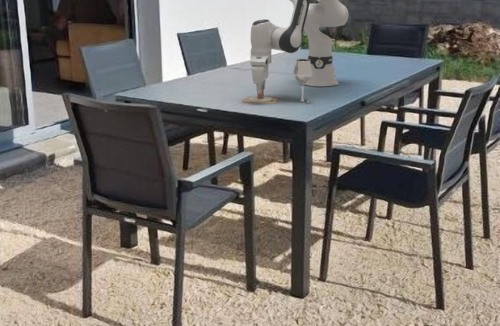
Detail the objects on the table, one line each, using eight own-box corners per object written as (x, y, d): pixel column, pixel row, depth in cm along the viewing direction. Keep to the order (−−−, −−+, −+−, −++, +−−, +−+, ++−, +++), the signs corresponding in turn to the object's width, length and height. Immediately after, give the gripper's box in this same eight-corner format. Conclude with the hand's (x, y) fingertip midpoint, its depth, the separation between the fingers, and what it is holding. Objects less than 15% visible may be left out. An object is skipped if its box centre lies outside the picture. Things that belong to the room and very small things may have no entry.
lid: (250, 97, 282) (250, 86, 281) (273, 98, 281) (273, 87, 280) (247, 101, 273) (247, 90, 272) (270, 102, 272) (270, 91, 270)
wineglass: (291, 100, 279) (292, 58, 274) (310, 100, 279) (311, 58, 274) (294, 104, 271) (294, 61, 266) (313, 103, 271) (314, 61, 266)
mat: (247, 97, 285) (247, 96, 285) (278, 98, 283) (278, 97, 282) (241, 104, 272) (241, 102, 272) (274, 105, 269) (274, 103, 269)
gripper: (257, 56, 282) (257, 87, 286) (249, 61, 263) (249, 95, 266) (271, 56, 281) (271, 87, 285) (264, 62, 262) (264, 95, 265)
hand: (260, 91), depth 275 cm, fingers open, 8 cm apart
